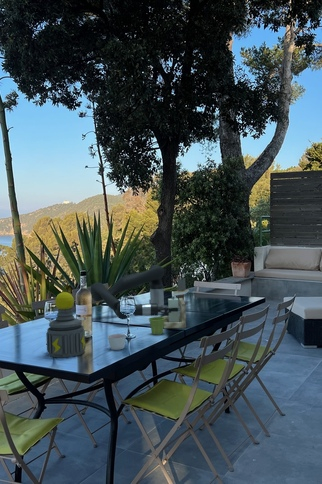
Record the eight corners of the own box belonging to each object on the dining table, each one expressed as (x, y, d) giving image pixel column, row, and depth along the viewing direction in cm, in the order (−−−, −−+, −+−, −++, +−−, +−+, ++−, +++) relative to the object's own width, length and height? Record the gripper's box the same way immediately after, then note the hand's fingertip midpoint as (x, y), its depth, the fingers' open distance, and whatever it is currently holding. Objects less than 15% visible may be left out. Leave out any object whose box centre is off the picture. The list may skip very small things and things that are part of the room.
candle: (126, 345, 252) (126, 333, 251) (125, 350, 243) (125, 337, 242) (108, 346, 251) (108, 334, 251) (107, 351, 242) (107, 338, 242)
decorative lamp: (58, 347, 252) (56, 289, 251) (92, 349, 247) (90, 289, 246) (39, 357, 234) (36, 294, 233) (75, 359, 229) (72, 295, 228)
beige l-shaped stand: (164, 328, 290) (163, 304, 290) (162, 320, 313) (161, 298, 313) (186, 327, 291) (185, 303, 290) (183, 320, 314) (182, 298, 313)
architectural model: (192, 309, 353) (192, 282, 352) (158, 309, 359) (157, 282, 358) (201, 301, 390) (201, 276, 389) (170, 300, 396) (170, 276, 395)
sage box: (169, 322, 299) (168, 297, 299) (168, 321, 304) (168, 296, 304) (178, 322, 300) (178, 297, 299) (178, 320, 305) (177, 295, 304)
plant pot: (153, 336, 271) (153, 320, 270) (146, 333, 279) (145, 318, 279) (168, 334, 275) (168, 318, 275) (160, 331, 283) (160, 316, 283)
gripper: (149, 305, 294) (178, 304, 295) (149, 301, 308) (176, 300, 309) (150, 317, 294) (178, 316, 295) (150, 313, 309) (177, 312, 309)
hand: (177, 308), depth 302 cm, fingers closed on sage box, 5 cm apart
